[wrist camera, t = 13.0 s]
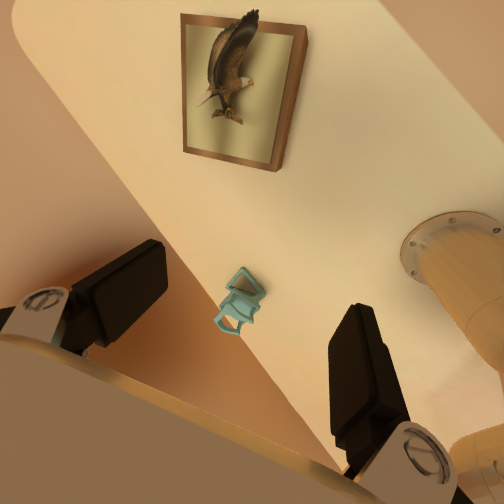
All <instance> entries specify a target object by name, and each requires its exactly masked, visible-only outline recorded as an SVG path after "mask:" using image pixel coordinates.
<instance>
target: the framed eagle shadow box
mask: <svg viewBox="0 0 504 504" xmlns="http://www.w3.org/2000/svg"><path fill="white" fill-rule="evenodd" d="M180 18H181V66H182V114H183V152H186V153H190V154H195V155H199V156H204V157H208V158H213V159H217V160H222V161H226V162H231V163H235V164H240V165H244V166H249V167H253V168H258V169H262V170H267V171H271V172H277V171H278V170H279V169H281V165H282V161H283V156H284V151H285V147H286V142H287V138H288V133H289V128H290V124H291V119H292V115H293V110H294V105H295V101H296V96H297V92H298V87H299V82H300V78H301V73H302V69H303V64H304V59H305V55H306V50H307V46H308V36H307V29H306V26H304V25H294V24H284V23H274V22H264V21H258V22H257V23H258V28H257V31H256V33H255V35H254V37H253V39H252V41H251V42H250V43H249V45H248V47H247V51H246V53H245V55H244V57H243V59H242V60H241V62H240V65H239V68H238V77H247V78H249V79H250V80H251V81H253V83H254V85H253V86H252V85H249V86H246V87H244V88H242V89H241V90H239V91H237V92H232V93H231V94H230V99H229V101H230V104H231V107H232V109H233V111H234V113H235V114H236V116H238V117H239V118H241V119H242V120H243V124H242V125H241V124H239V123H238V122H235V121H233V120H231V119H226V118H225V116H218V117H216V116H215V117H214V118H213V119H212V114H213V113H214V112H215V109H217V108H218V109H221V110H223V109H222V104H221V100H220V98H219V95H216V96H214V97H212V98H209V99H208V100H207V101H206V102H205V103H204V104H203V105H201V106H199V107H196V106H195V103H196V102H197V101H198V99H199V98H200V97H201V96H202V95H203V94H204V93H205V92H206V91H207V89H208V88H209V86H210V84H209V83H208V79H207V78H208V75H207V73H208V71H207V70H208V64H209V57H210V53H211V49H212V46H213V43H214V42H215V39H216V38H217V36H218V34H220V32H221V31H224V29H225V28H226V27H227V28H229V26H230V24H231V23H232V22H233V23H234V24H235V23H236V22H237V21H241V19H233V18H223V17H213V16H203V15H193V14H183V13H180Z"/></svg>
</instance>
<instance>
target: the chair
mask: <svg viewBox="0 0 504 504" xmlns="http://www.w3.org/2000/svg"><path fill="white" fill-rule="evenodd" d="M242 272H243V273H244V275H245V276H246V277H247V279H248V280H249V281H250V283H251V284H252V285H253V287H254V288H255V289H256V291H257V292H258V293H259V294H258V295H256V296H255V295H253V294H250V293H248V292H245V291H242V290H240V289H237V288H234V287H232V286H230V285H231V284H232V283H233V282H234V281H235V280H236V278H237V277H238V276H239V275H240V274H241V273H242ZM226 289H228V290H229V291H231V293H230V294H229V295H228V296H227V297H226V298H225V299H224V301H223V302H222V303H221V304H220V306H219V308H221V310H220V312H219V313H218V314H217V315H216V316H215V317H214V318H213V320H214V321H215V323H216V324H217V326H218V327H219V328H220V329H221V330H222V331H223V332H226V333H231V334H236V335H239V336H240V329H241V325H242V324H244V323H245V322H249V323H251V324H254V320H253V315H254V314H255V313H256V312H257V311H258V310H259V309H260V307H261V306H260V305H259V301H260V300H261V299H262V298H263V297H265V295H266V292H265V291H264V290H263V289H262V288H261V287H260V286H259V284H258V283H257V282H256V281H255V279H254V278H253V277H252V276H251V274H250V273H249V272H248V271H247V270H246V268H244V267H242V268H241V269H240V270H239V271H238V272H237V274H236V275H235V276H234V277H233V279H232V280H231V281H230V282H229V284H228V285H227V286H226ZM226 314H227V315H230V316H232V317H233V318H235V319H236V320H238V321H239V323H238V327H237V329H231V328H229V327H227V326H225V325H224V324H223V322H222V321H221V318H222V317H223V316H224V315H226Z"/></svg>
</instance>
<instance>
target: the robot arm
mask: <svg viewBox="0 0 504 504" xmlns="http://www.w3.org/2000/svg"><path fill="white" fill-rule="evenodd" d="M450 218H451V219H450ZM449 219H450V220H449ZM410 242H411V243H410ZM400 258H401V263H402V266H403V267H404V269H405V271H406V272H407V273H408V274H409V276H411V277H412V278H413V279H415V280H417V281H419V282H421V283H423V284H427V285H429V286H430V287H431V289H432V290H433V292H434V293H435V294H436V296H437V297H438V299H439V300H440V301H441V303H442V304H443V305H444V307H445V308H446V310H447V311H448V312H449V314H450V315H451V317H452V318H453V319H454V321H455V322H456V324H457V325H458V326H459V328H460V329H461V331H462V332H463V333H464V335H465V336H466V338H467V339H468V340H469V342H470V343H471V344H472V346H473V347H474V348H475V350H476V351H477V353H478V354H479V355H480V356H481V357H482V358H483V359H484V360H485V361H486V362H487V363H488V364H489V365H490V366H491V367H493V368H494V369H495V370H497V371H498V372H499V373H501V374H502V375H504V227H503V226H502V225H501V224H500V223H499V222H497V221H495V220H494V219H492V218H490V217H488V216H485V215H483V214H479V213H474V212H454V213H448V214H444V215H440V216H438V217H435V218H432V219H430V220H428V221H426V222H425V223H423V224H421V225H420V226H418V227H417V228H416V229H414V230H413V231H412V232H411V233H410V234H409V236H408V237H407V238H406V240H405V241H404V243H403V246H402V248H401V253H400ZM71 287H72V289H73V290H72V291H71V292H68V291H67V289H65V288H62V287H48V288H43V289H40V290H37V291H34V292H32V293H30V294H28V295H27V296H26V297H24V298H23V299H22V300H21V301H20V302H19V303H18V304H17V306H15V307H8V308H3V309H0V504H504V423H503V424H500V425H497V426H493V427H490V428H487V429H484V430H481V431H478V432H475V433H472V434H470V435H467V436H465V437H462V438H461V439H459V440H458V441H456V442H455V443H454V444H453V445H452V447H451V448H450V450H449V453H447V451H446V450H445V448H444V447H443V445H442V444H441V443H440V442H439V441H438V440H437V439H436V437H435V436H434V435H432V434H431V433H430V432H429V431H428V430H427V429H425V428H424V427H422V426H420V425H419V424H417V423H414V422H411V420H410V417H409V414H408V411H407V407H406V404H405V401H404V398H403V395H402V391H401V388H400V385H399V382H398V378H397V375H396V372H395V369H394V366H393V362H392V359H391V356H390V353H389V350H388V347H387V346H386V345H385V344H384V343H383V341H382V338H381V334H380V331H379V328H378V324H377V321H376V317H375V314H374V311H373V308H372V307H370V306H367V305H364V304H361V303H356V304H355V305H353V304H352V305H351V306H350V307H349V309H348V311H347V312H346V314H345V316H344V317H343V319H342V321H341V323H340V324H339V326H338V328H337V329H336V331H335V333H334V335H333V336H332V338H331V340H330V342H329V345H328V362H329V395H330V428H331V434H332V435H333V436H335V444H336V447H338V448H340V449H343V450H345V451H346V457H347V462H348V466H347V467H346V468H345V469H344V471H343V472H342V473H341V474H339V473H337V472H335V471H334V470H332V469H330V468H328V467H326V466H324V465H322V464H320V463H317V462H315V461H313V460H311V459H309V458H307V457H305V456H303V455H300V454H298V453H296V452H294V451H292V450H290V449H288V448H286V447H284V446H281V445H279V444H277V443H275V442H272V441H270V440H268V439H266V438H264V437H262V436H259V435H257V434H255V433H253V432H251V431H248V430H246V429H244V428H242V427H239V426H237V425H235V424H233V423H231V422H228V421H226V420H224V419H222V418H219V417H217V416H215V415H213V414H210V413H208V412H206V411H204V410H202V409H199V408H197V407H195V406H193V405H190V404H188V403H186V402H183V401H181V400H179V399H177V398H175V397H172V396H170V395H168V394H166V393H163V392H161V391H159V390H157V389H154V388H152V387H150V386H148V385H145V384H143V383H141V382H138V381H136V380H134V379H132V378H129V377H127V376H125V375H123V374H120V373H118V372H116V371H114V370H111V369H109V368H107V367H104V366H102V365H100V364H98V363H95V362H93V361H91V360H88V359H87V356H88V352H89V347H90V345H91V344H93V342H95V344H97V345H99V346H101V347H104V348H106V347H107V346H108V345H109V344H110V343H111V342H115V341H116V340H117V339H118V338H119V337H120V336H121V335H122V334H123V333H124V332H125V331H126V330H127V329H128V328H129V327H130V326H131V325H132V324H133V323H134V322H135V321H136V320H137V319H138V318H139V317H140V316H141V315H142V314H143V313H144V312H145V311H146V310H147V309H148V308H149V307H150V306H151V305H152V304H153V303H154V302H155V301H156V300H157V299H158V298H159V297H160V296H161V295H162V294H163V293H164V292H165V291H166V290H167V288H168V278H167V266H166V253H165V247H164V246H163V244H162V242H159V241H156V240H153V239H149V240H147V241H145V242H143V243H142V244H140V245H138V246H137V247H135V248H133V249H132V250H130V251H128V252H127V253H125V254H124V255H122V256H120V257H118V258H117V259H115V260H114V261H112V262H110V263H108V264H107V265H105V266H104V267H102V268H100V269H99V270H97V271H95V272H94V273H92V274H90V275H89V276H87V277H85V278H84V279H82V280H80V281H79V282H77V283H75V284H74V285H72V286H71Z"/></svg>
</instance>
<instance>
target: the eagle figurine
mask: <svg viewBox="0 0 504 504" xmlns="http://www.w3.org/2000/svg"><path fill="white" fill-rule="evenodd" d="M258 12H259V10H258V9H257V10H256V11H255V12H254V9H253V10H252V11H251V12H248V13H247V15H246V16H245V15H244V16H243V17H242V19H241V21H237V22H236V23H235V24H234V23H233V22H232V23H231V24H230V26H229V28H227V27H226V28H225V29H224V31H221V32H220V34H218V36H217V38H216V39H215V42H214V43H213V46H212V49H211V53H210V57H209V64H208V70H207V71H208V73H207V75H208V78H207V79H208V83H209V84H210V86H209V88H208V89H207V91H206V92H205V93H204V94H203V95H202V96H201V97H200V98H199V99H198V101H197V102H196V103H195V106H196V107H199V106H201V105H203V104H204V103H205V102H206V101H207V100H208V99H209V98H212V97H214V96H216V95H219V98H220V100H221V104H222V109H223V110H221V109H218V108H217V109H215V112H214V113H213V114H212V119H213V118H214V117H215V116H216V117H218V116H225V118H226V119H231V120H233V121H235V122H238V123H239V124H241V125H242V124H243V120H242V119H241V118H239V117H238V116H236V114H235V113H234V111H233V109H232V107H231V104H230V101H229V99H230V94H231V93H232V92H237V91H239V90H241V89H242V88H244V87H246V86H249V85H252V86H253V85H254V83H253V81H251V80H250V79H249V78H247V77H238V68H239V65H240V62H241V60H242V59H243V57H244V55H245V53H246V51H247V47H248V45H249V43H250V42H251V41H252V39H253V37H254V35H255V33H256V31H257V28H258V23H257V22H258V19H259V15H258Z"/></svg>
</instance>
